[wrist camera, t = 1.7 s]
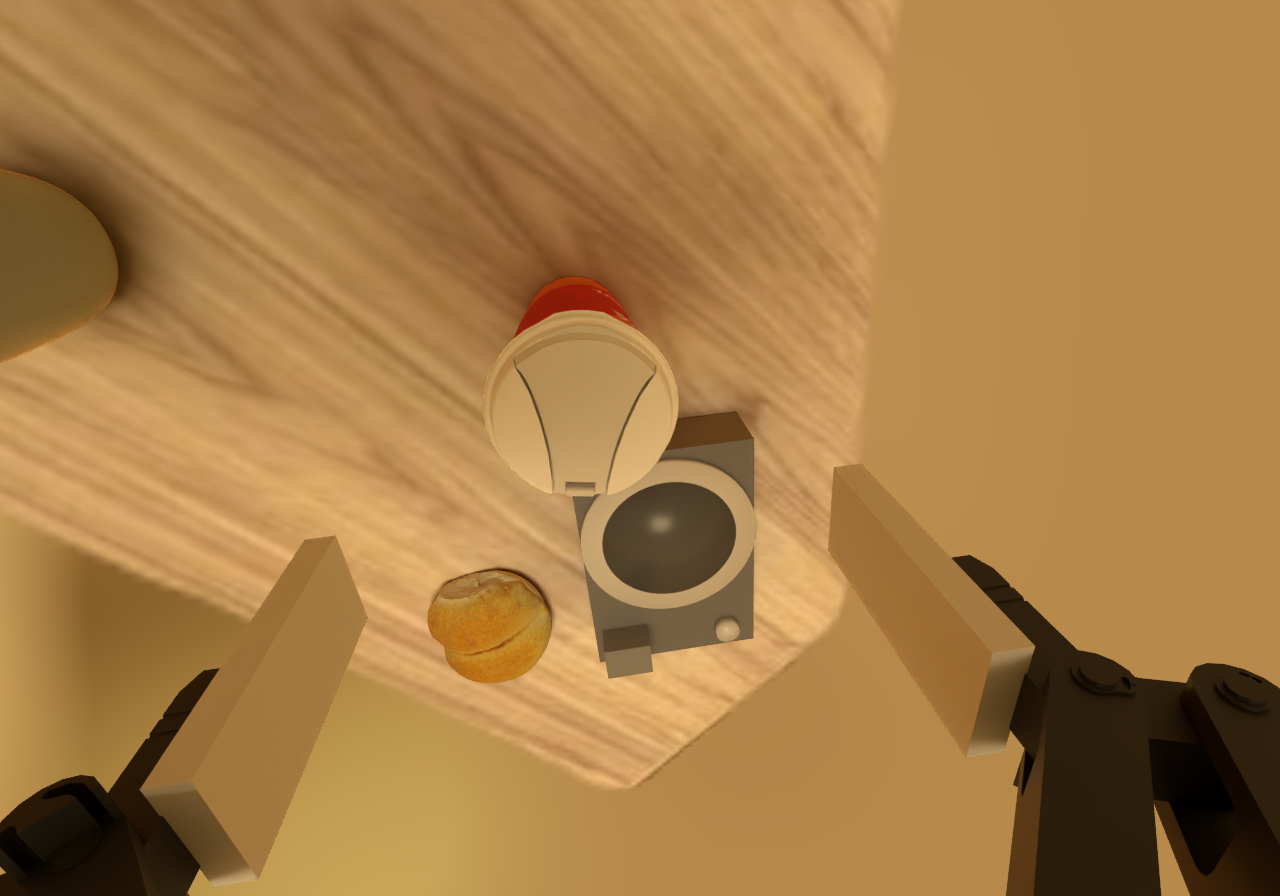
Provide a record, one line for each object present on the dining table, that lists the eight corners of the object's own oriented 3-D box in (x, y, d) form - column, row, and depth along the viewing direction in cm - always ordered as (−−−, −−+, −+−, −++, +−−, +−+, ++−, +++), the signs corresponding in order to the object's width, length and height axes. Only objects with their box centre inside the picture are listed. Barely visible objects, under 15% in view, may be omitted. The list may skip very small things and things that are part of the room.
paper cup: (634, 388, 37) (672, 511, 25) (508, 383, 36) (481, 509, 23) (646, 258, 33) (697, 325, 21) (507, 248, 32) (474, 313, 20)
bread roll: (464, 670, 46) (456, 714, 43) (417, 584, 42) (404, 625, 38) (567, 643, 46) (567, 684, 43) (530, 554, 42) (527, 592, 38)
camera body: (566, 433, 38) (567, 481, 32) (736, 411, 38) (764, 454, 33) (597, 621, 45) (602, 685, 40) (738, 599, 46) (761, 659, 41)
